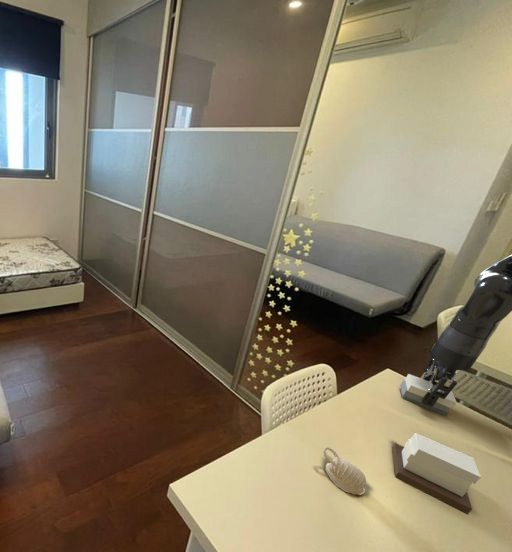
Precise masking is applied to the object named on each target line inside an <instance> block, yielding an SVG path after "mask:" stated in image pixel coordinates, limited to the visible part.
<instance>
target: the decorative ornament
mask: <svg viewBox="0 0 512 552" xmlns="http://www.w3.org/2000/svg"><path fill="white" fill-rule="evenodd" d="M327 450H328V451H329V452H331V453H332V454H333V456H334V458H332V459H331V458H330V456H329V455H328V454H327ZM322 453H323V456H324V457H325V459H326V460H327V461H328V462H327V463H326V464H325V472H326V474H327V476H328V477H329V479H330V481H332V483H333V484H334V485H335V486H336V487H338V488H339V489H341V490H342V491H343V492H344V493H349V494H352V495H358V496H362V495H364V494H365V493H366V488H365V485H366V482H367V479H366V475H365V474H364V472H363V471H362V470H361V469H360V468H359V467H357V465H355V464H354V463H352V462H350V461H349V460H347V459H345V458H343V457H339V455H338V453H337V452H336V451H335V450H334V449H333V448H331V447H329V446H324V447H323V449H322Z"/></svg>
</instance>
